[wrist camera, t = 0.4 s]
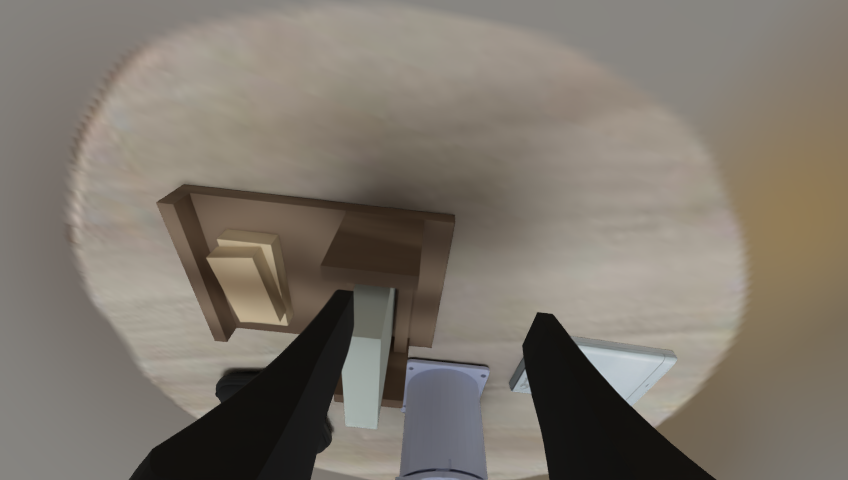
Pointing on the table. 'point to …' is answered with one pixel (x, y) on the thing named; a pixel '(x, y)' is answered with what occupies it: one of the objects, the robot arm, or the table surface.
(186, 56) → the table surface
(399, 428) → the table surface
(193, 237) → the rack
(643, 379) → the hard drive
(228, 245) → the offcut stack
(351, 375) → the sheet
